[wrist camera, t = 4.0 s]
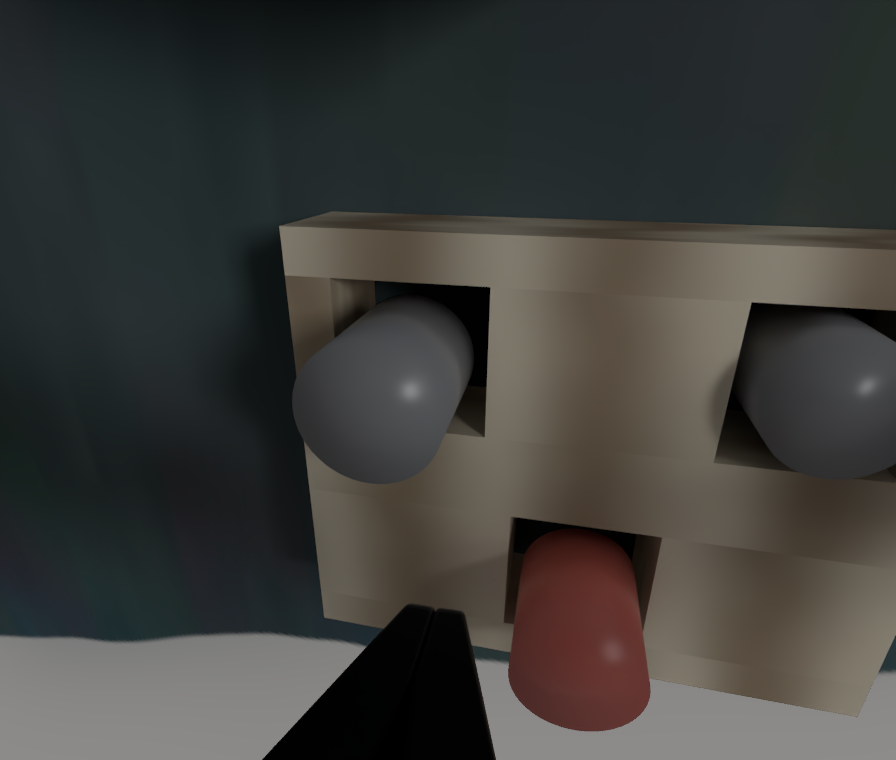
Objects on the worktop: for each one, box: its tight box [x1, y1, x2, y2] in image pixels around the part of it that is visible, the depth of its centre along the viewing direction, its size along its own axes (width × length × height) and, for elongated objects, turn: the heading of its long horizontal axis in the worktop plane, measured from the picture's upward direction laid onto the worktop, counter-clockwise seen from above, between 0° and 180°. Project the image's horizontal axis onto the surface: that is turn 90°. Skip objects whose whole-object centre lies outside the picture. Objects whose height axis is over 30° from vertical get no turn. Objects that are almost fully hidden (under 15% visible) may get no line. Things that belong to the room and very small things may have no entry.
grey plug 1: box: [292, 295, 474, 484], centre depth 16 cm, size 4×4×4 cm
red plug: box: [508, 528, 650, 731], centre depth 18 cm, size 4×4×4 cm
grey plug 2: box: [731, 303, 896, 479], centre depth 16 cm, size 4×4×4 cm
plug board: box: [279, 212, 896, 717], centre depth 19 cm, size 20×16×4 cm
